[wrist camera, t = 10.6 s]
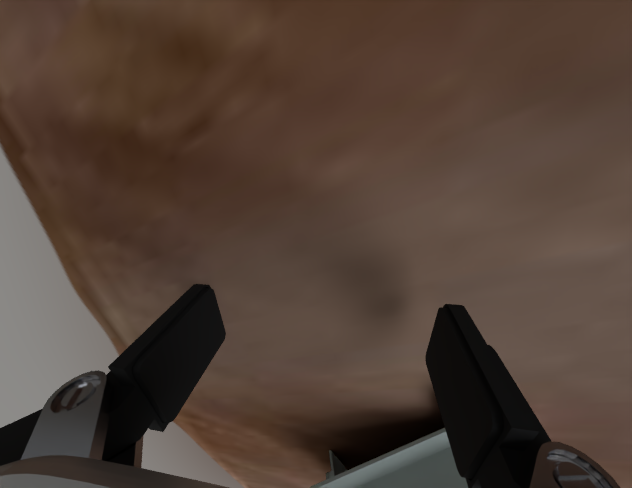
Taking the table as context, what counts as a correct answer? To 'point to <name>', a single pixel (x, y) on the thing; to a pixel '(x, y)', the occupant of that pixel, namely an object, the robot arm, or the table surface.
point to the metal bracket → (401, 467)
